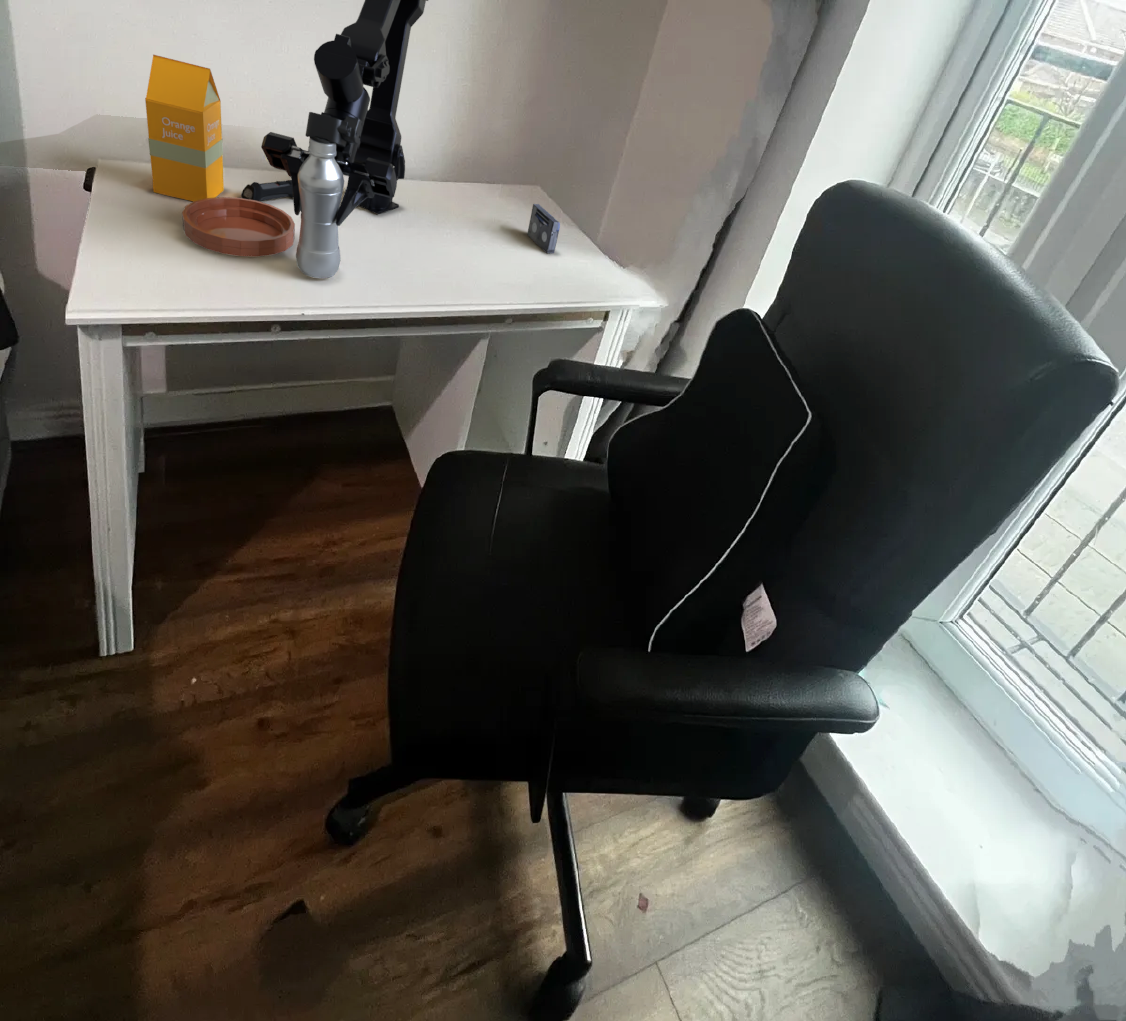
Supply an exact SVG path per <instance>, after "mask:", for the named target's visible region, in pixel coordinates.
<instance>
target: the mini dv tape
mask: <svg viewBox="0 0 1126 1021" xmlns="http://www.w3.org/2000/svg"><path fill="white" fill-rule="evenodd" d="M560 228H561V222H560V221H558V219H556V218H555V217H554V216H553V215H552V214H551V213H550V212H548V211H547V210H546V209H545V208H544V207H543V206H542V205H540V204H539V203H533V204H532V209H531V214H530V219H529V224H528V229H527V233H526V234H527V236H528V237H529V238H530V239H531V240H532V241H533V242H534V243H536V245H537V246H538V247H539V248H541V250H543V251H544V252H545V253H546V254H555V250H556V247H557V242H558V238H559V232H560Z"/></svg>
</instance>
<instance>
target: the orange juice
mask: <svg viewBox="0 0 1126 1021" xmlns="http://www.w3.org/2000/svg"><path fill="white" fill-rule="evenodd" d="M148 77H149V78H148V84H147V90H146V95H145V99H144V101H145V110H146V111H145V112H146V120H147V121H146V123H147V131H148V132H147V134H148V135H147V136H148V137H147V139H148V150H149V157H150V167H151V168H150V169H151V179H152V189H153V190H152V192H153V193H155V194H159V195H164V196H167V197H171V198H172V197H173V198H177V199H180V200H181V199H182V200H186V201H190V202H194V201H197V200H201V199H205V198H215V197H218V196H219V195H220V194H222V193H223V192H224V191H225V188H224V187H225V186H224V184H225V183H224V158H223V155H224V151H223V149H224V148H223V131H222V103H221V101H222V100H221V97H220V95H219V92H218V89H217V86H216V83H215V80H214V76H213V73H212V71H211V68H209V67H204V66H202V65H197V64H193V63H189V62H185V61H181V60H177V59H174V58H169V57H165V56H161V55H157V54H152V61H151V67H150V73H149V76H148Z"/></svg>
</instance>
